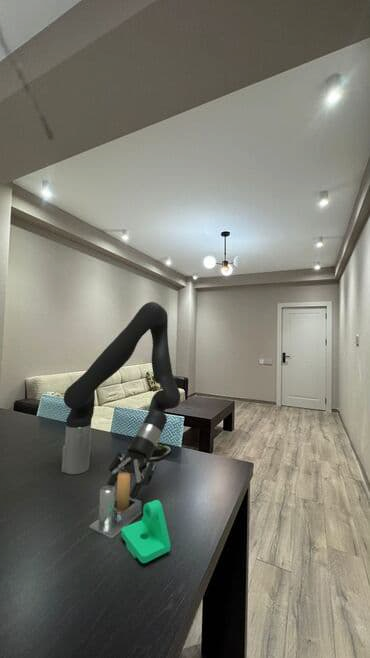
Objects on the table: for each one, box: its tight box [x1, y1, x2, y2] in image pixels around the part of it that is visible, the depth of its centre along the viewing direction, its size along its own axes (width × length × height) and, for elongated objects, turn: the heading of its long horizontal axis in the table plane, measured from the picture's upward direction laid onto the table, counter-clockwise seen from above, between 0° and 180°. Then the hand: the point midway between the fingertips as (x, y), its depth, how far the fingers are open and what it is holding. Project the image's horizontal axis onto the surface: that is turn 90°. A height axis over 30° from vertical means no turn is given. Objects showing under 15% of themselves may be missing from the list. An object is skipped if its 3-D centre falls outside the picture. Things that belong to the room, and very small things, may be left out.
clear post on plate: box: [89, 484, 142, 539], centre depth 82 cm, size 12×8×11 cm, turn 151°
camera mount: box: [120, 499, 171, 564], centre depth 73 cm, size 12×8×10 cm, turn 38°
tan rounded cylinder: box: [116, 472, 131, 511], centre depth 84 cm, size 4×4×11 cm
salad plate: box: [127, 443, 172, 462], centre depth 130 cm, size 19×18×5 cm
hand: (119, 493), depth 83 cm, fingers open, 8 cm apart
